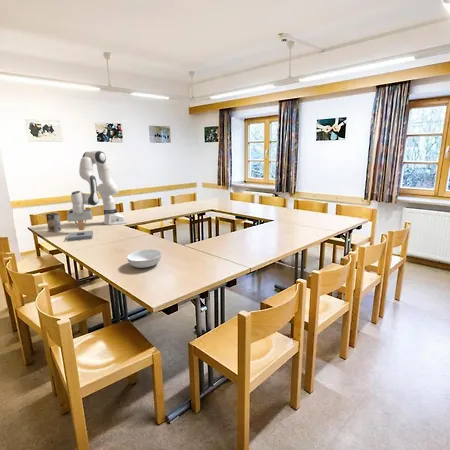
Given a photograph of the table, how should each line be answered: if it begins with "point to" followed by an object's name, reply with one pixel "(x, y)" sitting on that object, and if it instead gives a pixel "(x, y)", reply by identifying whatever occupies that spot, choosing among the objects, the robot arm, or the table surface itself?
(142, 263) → the serving bowl
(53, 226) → the coffee box
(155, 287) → the table surface
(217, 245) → the table surface
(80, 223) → the plug
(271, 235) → the table surface
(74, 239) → the socket plate
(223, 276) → the table surface
